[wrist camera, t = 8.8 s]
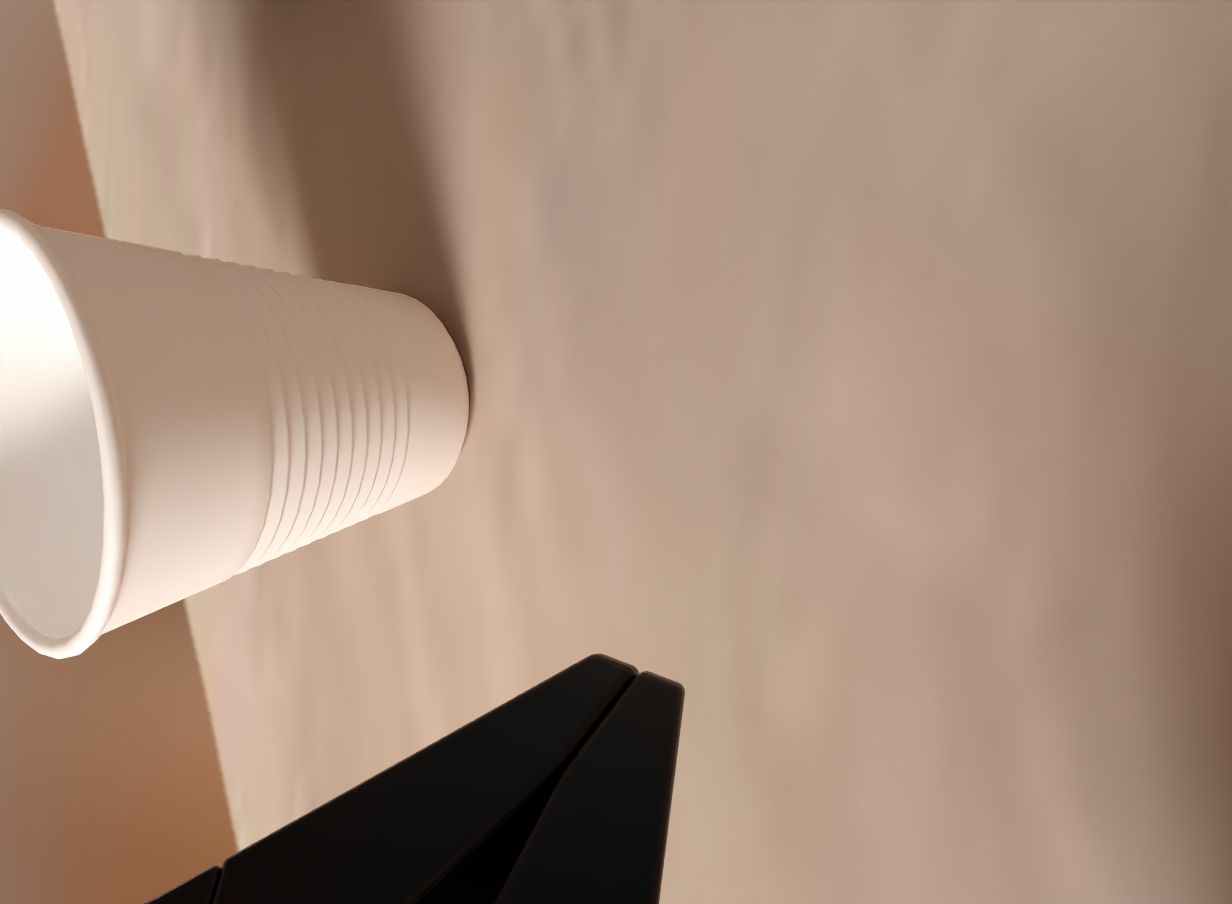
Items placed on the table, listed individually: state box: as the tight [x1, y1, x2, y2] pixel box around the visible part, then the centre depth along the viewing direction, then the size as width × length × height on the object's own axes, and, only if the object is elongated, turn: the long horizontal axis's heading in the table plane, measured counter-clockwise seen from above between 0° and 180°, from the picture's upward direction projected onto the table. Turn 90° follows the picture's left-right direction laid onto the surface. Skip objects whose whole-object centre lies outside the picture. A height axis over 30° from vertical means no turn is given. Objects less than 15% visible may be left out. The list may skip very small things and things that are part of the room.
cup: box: [0, 209, 469, 659], centre depth 25 cm, size 10×10×11 cm
